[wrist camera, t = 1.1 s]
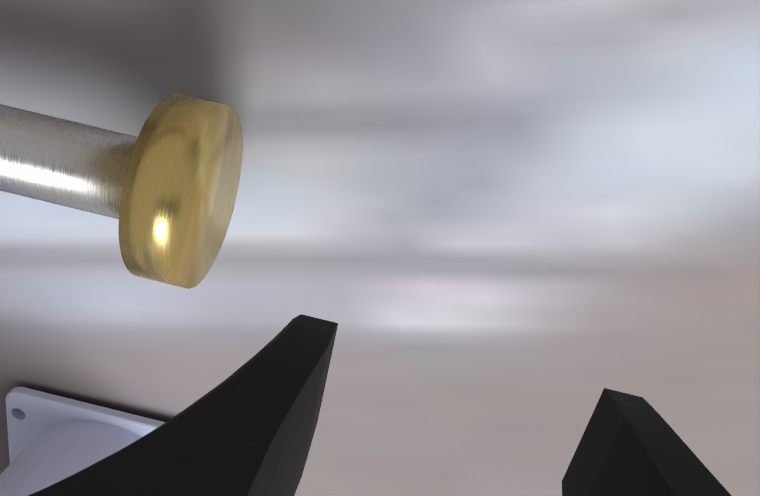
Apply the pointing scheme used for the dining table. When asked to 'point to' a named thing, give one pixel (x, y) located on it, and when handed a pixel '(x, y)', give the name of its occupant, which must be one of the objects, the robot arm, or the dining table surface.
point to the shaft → (137, 179)
